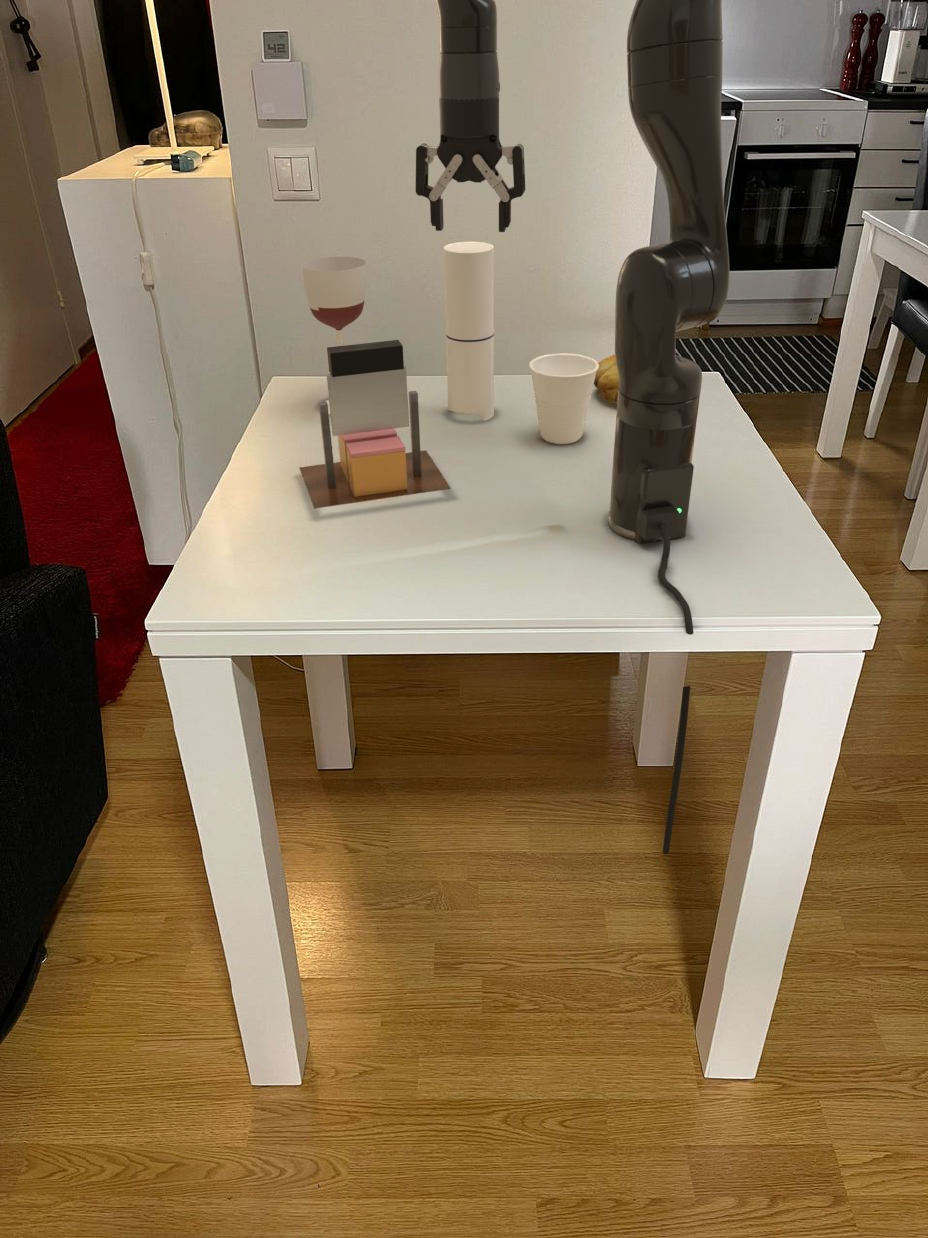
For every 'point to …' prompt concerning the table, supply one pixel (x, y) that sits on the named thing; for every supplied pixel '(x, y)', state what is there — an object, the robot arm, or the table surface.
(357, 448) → the cake
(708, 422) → the table surface
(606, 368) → the bread roll
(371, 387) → the black handled scraper
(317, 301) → the wineglass
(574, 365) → the cup
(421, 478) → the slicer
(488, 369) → the cylindrical container
